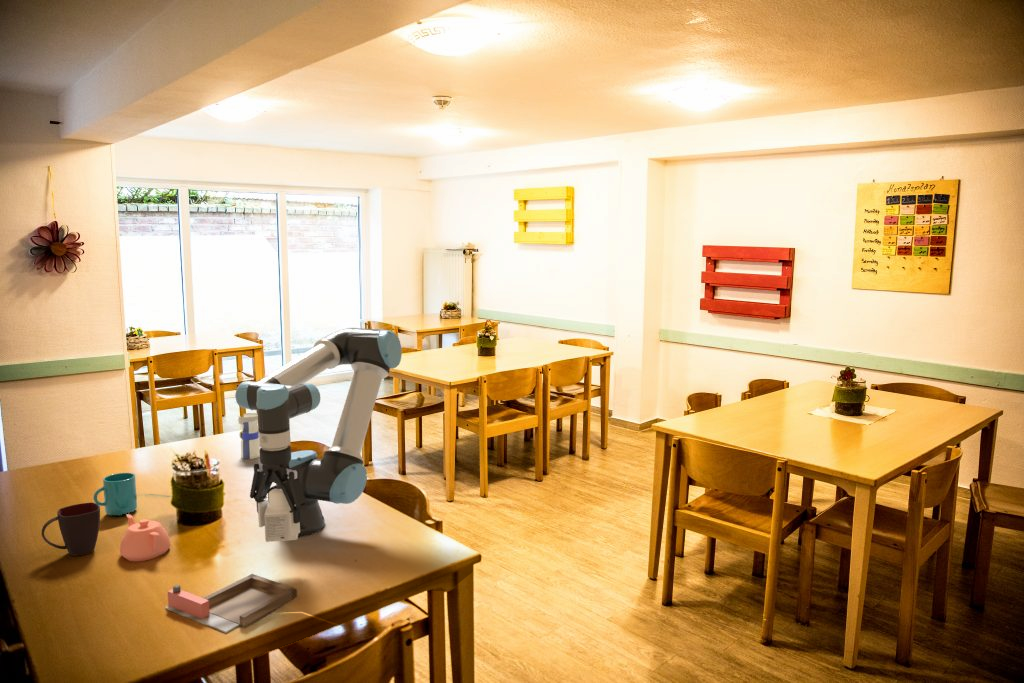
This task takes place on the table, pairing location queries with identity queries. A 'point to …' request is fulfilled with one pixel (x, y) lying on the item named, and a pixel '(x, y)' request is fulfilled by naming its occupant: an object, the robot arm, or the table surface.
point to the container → (277, 516)
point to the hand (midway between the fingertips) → (279, 529)
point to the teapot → (144, 540)
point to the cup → (118, 494)
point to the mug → (77, 527)
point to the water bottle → (249, 436)
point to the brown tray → (243, 603)
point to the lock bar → (188, 602)
